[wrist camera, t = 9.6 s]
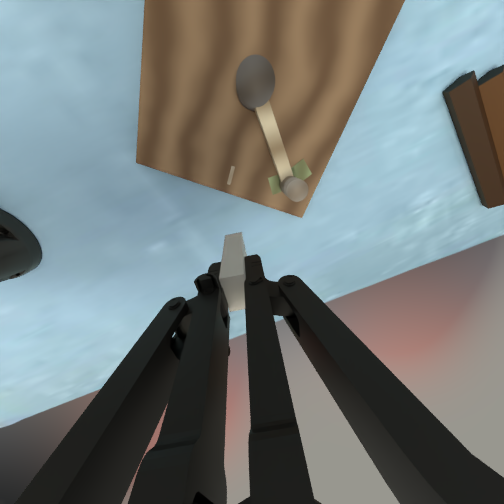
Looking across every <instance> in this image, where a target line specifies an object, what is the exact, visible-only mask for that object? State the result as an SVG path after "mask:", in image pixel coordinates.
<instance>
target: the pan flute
mask: <svg viewBox="0 0 504 504" xmlns="http://www.w3.org/2000/svg"><path fill="white" fill-rule="evenodd" d="M443 95H444V98H445V101H446V104H447V106H448V109H449V112H450V115H451V118H452V121H453V123H454V126H455V129H456V132H457V135H458V138H459V140H460V143H461V146H462V149H463V152H464V155H465V158H466V160H467V163H468V166H469V169H470V172H471V175H472V177H473V180H474V183H475V186H476V189H477V192H478V194H479V197H480V200H481V203H482V205H483V206H485V207H487V208H488V209H489V208H492V207H496V206H500V205H504V65H502V66H500V67H498V68H495V69H493V70H491V71H489V72H488V73H486V74H485V75H484V76H483V77H482V78H481V79H479V80H478V81H477V79H476V75H475V71H471V72H469V73H467V74H465V75H463V76H461V77H459V78H458V79H457V80H456V81H455V82H453V83H452V84H451V85H450V86H449V87H448V88H447V89H446V90H444V91H443Z"/></svg>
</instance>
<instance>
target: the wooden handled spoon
mask: <svg viewBox="0 0 504 504" xmlns="http://www.w3.org/2000/svg"><path fill="white" fill-rule="evenodd" d="M274 88H275V74H274V70H273V67H272V65H271V64H270V62H269V61H268V60H267V59H266V58H265V57H263V56H261V55H250V56H248V57H246V58H245V59H244V60H243V61H242V62H241V64H240V65H239V67H238V70H237V74H236V91H237V96H238V99H239V101H240V103H241V104H242V105H243V106H244V107H245V108H246V109H248V110H251V111H255V112H256V115H257V118H258V120H259V123H260V126H261V129H262V132H263V134H264V137H265V140H266V143H267V145H268V148H269V151H270V154H271V156H272V159H273V162H274V165H275V167H276V170H277V173H278V176H279V179H280V189H281V191H282V192H283V193H284V194H285V195H286V196H287V197H288V198H289V199H291V200H292V201H294V202H299V201H302V200H303V199H304V198H305V197H306V196H307V194H308V185H307V183H306V182H305V181H303V180H301V179H298V178H296V177H294V176H293V173H292V170H291V167H290V164H289V160H288V157H287V154H286V151H285V148H284V145H283V142H282V139H281V136H280V133H279V130H278V127H277V123H276V120H275V117H274V114H273V111H272V108H271V105H270V102H269V99H270V98H271V96H272V94H273V91H274Z"/></svg>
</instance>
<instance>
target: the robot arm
mask: <svg viewBox="0 0 504 504" xmlns="http://www.w3.org/2000/svg"><path fill="white" fill-rule="evenodd" d="M40 261H41V249H40V246H39V244H38V242H37V240H36V238H35V237H34V235H33V234H32V233H31V232H30V231H29V229H28V228H27V227H26V226H24V225H23V224H22V223H21V222H20V221H18V220H17V219H16V218H14V217H13V216H11V215H10V214H8V213H6V212H4V211H2V210H0V282H1V281H5V280H8V279H13V278H17V277H20V276H22V275H24V274H26V273H28V272H30V271H31V270H33V269H35V268H36V267H37V266H38V265H39V263H40ZM194 283H195V285H196V288H197V290H198V295H197V296H196V297H194V298H192V299H190V300H187V301H186V300H185V298H183V297H176V298H173V299H171V300H170V301H168V302H167V303H166V304H165V305H164V306H163V308H162V309H161V310H160V312H159V313H158V314H157V316H156V317H155V318H154V320H153V321H152V322H151V324H150V325H149V326H148V327H147V329H146V330H145V331H144V333H143V334H142V335H141V337H140V338H139V339H138V341H137V342H136V343H135V345H134V346H133V347H132V349H131V350H130V351H129V353H128V354H127V355H126V357H125V358H124V359H123V361H122V362H121V363H120V365H119V366H118V367H117V369H116V370H115V371H114V373H113V374H112V375H111V376H110V378H109V379H108V380H107V382H106V383H105V384H104V386H103V387H102V388H101V390H100V391H99V392H98V394H97V395H96V396H95V398H94V399H93V400H92V402H91V403H90V404H89V406H88V407H87V409H86V410H85V411H84V412H83V414H82V415H81V416H80V418H79V419H78V420H77V422H76V423H75V424H74V425H73V427H72V428H71V429H70V431H69V432H68V433H67V435H66V436H65V437H64V439H63V440H62V441H61V443H60V444H59V445H58V447H57V448H56V449H55V451H54V452H53V453H52V455H51V456H50V457H49V459H48V460H47V461H46V463H45V464H44V465H43V467H42V468H41V469H40V471H39V472H38V473H37V475H36V476H35V477H34V478H33V480H32V481H31V483H30V484H29V485H28V486H27V488H26V489H25V491H24V492H23V493H22V494H21V496H20V497H19V498H18V500H17V501H16V503H15V504H121V503H122V501H123V499H124V497H125V495H126V492H127V490H128V488H129V486H130V484H131V482H132V479H133V477H134V475H135V473H136V471H137V468H138V466H139V464H140V462H141V460H142V458H143V455H144V453H145V451H146V449H147V447H148V445H149V442H150V440H151V438H152V436H153V434H154V431H155V429H156V427H157V425H158V423H159V420H160V418H161V416H162V414H163V412H164V410H165V407H166V405H167V403H168V405H167V409H166V413H165V416H164V420H163V423H162V427H161V431H160V435H159V438H158V441H157V443H156V444H155V446H154V447H153V448H152V449H151V450H149V451H148V452H147V453H146V455H145V456H144V458H143V460H142V462H141V464H140V467H139V470H138V472H137V475H136V479H135V482H134V486H133V488H132V492H131V495H130V498H129V501H128V504H226V503H227V486H226V477H225V470H224V447H225V422H226V421H225V420H226V397H227V372H228V349H229V324H230V317H229V313H228V307H229V310H230V312H231V311H236V310H242V309H245V314H246V334H247V354H248V375H249V395H250V413H251V414H250V416H251V430H250V433H249V477H250V497H248V498H246V499H245V500H243V501H242V502H240V503H238V504H321V503H320V502H318V501H317V500H315V499H314V496H313V492H312V487H311V482H310V478H309V474H308V469H307V464H306V460H305V456H304V451H303V446H302V442H301V437H300V433H299V429H298V425H297V421H296V417H295V413H294V408H293V403H292V399H291V394H290V390H289V385H288V380H287V376H286V371H285V367H284V362H283V357H282V353H281V348H280V344H279V339H278V335H277V330H276V326H275V321H274V316H273V315H278V316H283V318H284V320H285V321H286V323H287V324H288V326H289V327H290V329H291V331H292V332H293V334H294V336H295V337H296V339H297V340H298V342H299V343H300V345H301V347H302V348H303V350H304V352H305V353H306V355H307V356H308V358H309V360H310V361H311V363H312V364H313V366H314V368H315V369H316V371H317V372H318V374H319V376H320V377H321V379H322V380H323V382H324V384H325V385H326V387H327V389H328V390H329V392H330V393H331V395H332V397H333V398H334V400H335V402H336V403H337V405H338V406H339V408H340V409H341V411H342V413H343V414H344V416H345V418H346V419H347V420H348V422H349V424H350V426H351V427H352V429H353V430H354V432H355V434H356V435H357V437H358V439H359V440H360V442H361V443H362V445H363V447H364V448H365V450H366V451H367V453H368V455H369V456H370V458H371V459H372V461H373V463H374V464H375V466H376V467H377V469H378V471H379V472H380V474H381V475H382V477H383V479H384V480H385V482H386V483H387V485H388V486H389V488H390V489H391V491H392V492H393V494H394V495H395V497H396V498H397V500H398V501H399V503H400V504H504V478H503V477H502V476H501V475H499V474H498V473H497V472H495V471H494V470H493V469H491V468H490V467H488V466H487V465H486V464H484V463H483V462H482V461H480V460H479V459H478V458H476V457H475V456H474V455H472V454H471V453H470V452H469V451H468V450H467V449H466V448H465V447H464V446H463V445H462V444H461V443H460V442H459V441H458V439H457V438H455V436H453V434H452V433H451V432H450V431H449V430H448V429H447V428H446V427H445V426H444V425H443V424H442V423H441V422H440V421H439V420H438V419H437V418H436V417H435V416H434V415H433V414H432V413H431V412H430V411H429V410H428V409H427V408H426V407H425V406H424V405H423V404H422V403H421V402H420V401H419V400H418V399H417V398H416V397H415V396H414V395H413V393H411V392H410V390H409V389H408V388H407V387H406V386H405V385H404V384H402V382H401V381H400V380H399V379H398V378H397V377H396V376H395V375H394V374H393V373H392V372H391V371H390V370H389V369H388V368H387V367H386V366H385V365H384V364H383V363H382V362H381V361H380V360H379V359H378V358H377V357H376V356H375V355H374V354H373V353H372V352H371V351H370V350H369V349H368V347H367V346H366V345H365V344H364V343H363V342H362V341H361V340H360V339H359V338H358V337H357V336H356V335H355V334H354V333H353V332H352V331H351V330H350V329H349V328H348V327H347V326H346V325H345V324H344V323H343V322H342V321H341V320H340V319H339V318H338V317H337V316H336V315H335V314H334V313H333V312H332V311H331V310H330V309H329V308H328V307H327V306H326V305H325V304H324V302H323V301H322V300H321V299H320V298H319V297H318V296H317V295H316V294H315V293H314V292H313V291H312V290H311V289H310V288H309V287H308V286H307V285H306V284H305V283H304V282H303V281H302V280H301V279H300V278H299V277H297V276H294V275H287V276H283V277H281V278H280V279H279V281H278V282H273V281H269V280H267V279H266V278H265V276H264V272H263V267H262V263H261V258H260V256H258V255H257V254H256V255H251V256H247V254H246V250H245V245H244V241H243V236H242V232H239V233H234V234H229V235H225V240H224V247H223V254H222V261H221V262H218V263H213V264H212V265H211V266H210V267H209V270H208V273H205V274H202V275H200V276H198V277H197V278H196V279H195V281H194ZM174 332H175V335H174V337H173V338H172V336H173V334H174Z"/></svg>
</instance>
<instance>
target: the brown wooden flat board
mask: <svg viewBox="0 0 504 504" xmlns="http://www.w3.org/2000/svg"><path fill="white" fill-rule="evenodd" d="M404 1H405V0H145V5H144V24H143V43H142V61H141V80H140V99H139V118H138V137H137V155H136V163H138V164H141V165H144V166H147V167H150V168H153V169H156V170H159V171H162V172H165V173H168V174H171V175H174V176H177V177H181V178H184V179H187V180H190V181H193V182H196V183H199V184H202V185H205V186H208V187H211V188H214V189H217V190H220V191H223V192H226V193H229V194H232V195H235V196H238V197H241V198H244V199H247V200H250V201H253V202H256V203H259V204H262V205H265V206H268V207H271V208H274V209H277V210H280V211H283V212H286V213H289V214H292V215H295V216H298V217H301V218H302V217H303V214H304V212H305V210H306V208H307V206H308V204H309V202H310V200H311V198H312V195H313V193H314V191H315V189H316V187H317V185H318V183H319V181H320V179H321V176H322V174H323V172H324V170H325V168H326V166H327V164H328V162H329V160H330V157H331V155H332V153H333V151H334V149H335V147H336V145H337V143H338V141H339V138H340V136H341V134H342V132H343V130H344V128H345V126H346V124H347V122H348V119H349V117H350V115H351V113H352V111H353V109H354V107H355V105H356V103H357V100H358V98H359V96H360V94H361V92H362V90H363V88H364V86H365V84H366V81H367V79H368V77H369V75H370V73H371V71H372V69H373V67H374V65H375V62H376V60H377V58H378V56H379V54H380V52H381V50H382V48H383V46H384V43H385V41H386V39H387V37H388V35H389V33H390V31H391V29H392V26H393V24H394V22H395V20H396V18H397V16H398V14H399V12H400V10H401V7H402V5H403V3H404ZM250 55H261V56H263V57H265V58H266V59H267V60H268V61H269V62H270V64H271V65H272V67H273V70H274V74H275V88H274V91H273V94H272V96H271V98H270V99H269V102H270V105H271V108H272V111H273V114H274V117H275V120H276V123H277V127H278V130H279V133H280V136H281V139H282V142H283V145H284V148H285V151H286V154H287V157H288V160H289V164H290V167H291V170H292V173H293V176H294V177H296V178H298V179H301V180H303V181H305V182H306V183H307V185H308V194H307V196H306V197H305V198H304V199H303V200H302V201H299V202H294V201H292V200H291V199H289V198H288V197H287V196H286V195H285V194H284V193H283V192H282V191H281V189H280V179H279V176H278V173H277V170H276V167H275V165H274V162H273V159H272V156H271V154H270V151H269V148H268V145H267V143H266V140H265V137H264V134H263V132H262V129H261V126H260V123H259V120H258V118H257V115H256V112H255V111H251V110H248V109H246V108H245V107H244V106H243V105H242V104H241V103H240V101H239V99H238V96H237V91H236V74H237V70H238V67H239V65H240V64H241V62H242V61H243V60H244V59H245V58H246V57H248V56H250Z"/></svg>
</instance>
